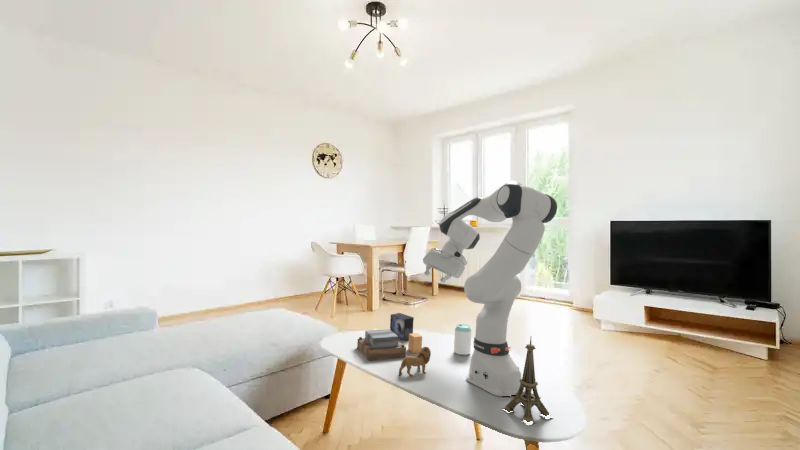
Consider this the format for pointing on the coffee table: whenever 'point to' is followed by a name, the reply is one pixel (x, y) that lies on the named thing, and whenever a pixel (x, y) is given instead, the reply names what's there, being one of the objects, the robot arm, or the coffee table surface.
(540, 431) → the coffee table surface
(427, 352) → the lion figurine
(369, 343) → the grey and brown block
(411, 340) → the orange brick
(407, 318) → the small box
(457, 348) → the can
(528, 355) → the eiffel tower
